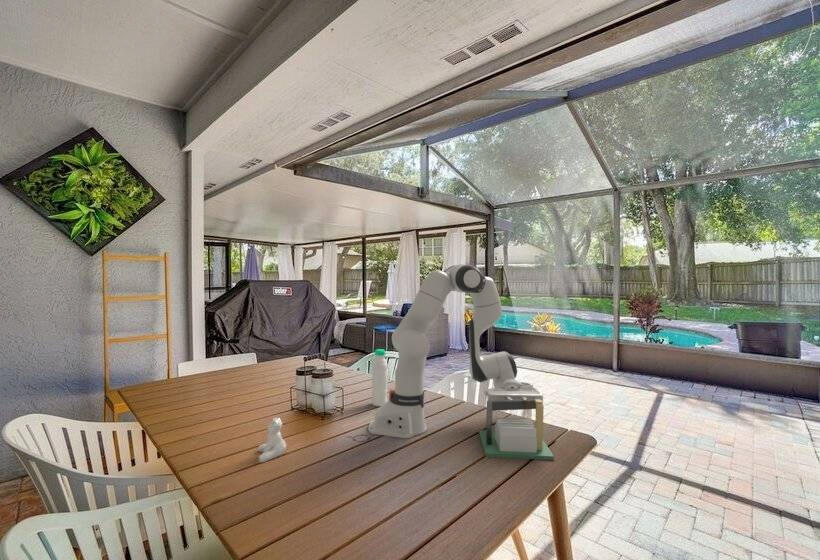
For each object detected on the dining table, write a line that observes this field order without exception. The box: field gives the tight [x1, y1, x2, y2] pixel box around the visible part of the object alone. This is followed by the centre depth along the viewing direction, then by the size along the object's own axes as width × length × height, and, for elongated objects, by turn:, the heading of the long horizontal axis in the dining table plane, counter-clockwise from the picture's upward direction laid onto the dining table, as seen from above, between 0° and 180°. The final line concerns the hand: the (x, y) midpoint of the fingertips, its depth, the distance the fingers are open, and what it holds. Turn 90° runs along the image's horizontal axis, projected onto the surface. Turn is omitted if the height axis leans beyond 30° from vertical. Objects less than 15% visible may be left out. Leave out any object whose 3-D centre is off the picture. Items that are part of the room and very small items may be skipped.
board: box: [478, 399, 555, 461], centre depth 131 cm, size 22×18×17 cm
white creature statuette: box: [257, 417, 287, 463], centre depth 122 cm, size 10×9×12 cm
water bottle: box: [371, 348, 389, 407], centre depth 170 cm, size 7×7×25 cm
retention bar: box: [485, 399, 536, 444], centre depth 131 cm, size 18×2×14 cm, turn 98°
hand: (519, 404), depth 132 cm, fingers closed
